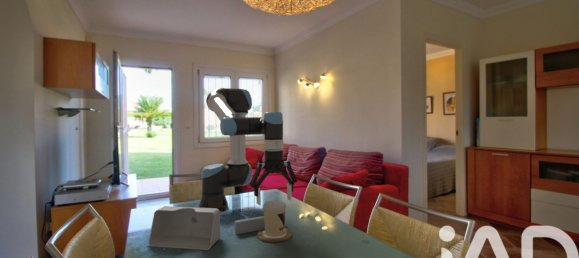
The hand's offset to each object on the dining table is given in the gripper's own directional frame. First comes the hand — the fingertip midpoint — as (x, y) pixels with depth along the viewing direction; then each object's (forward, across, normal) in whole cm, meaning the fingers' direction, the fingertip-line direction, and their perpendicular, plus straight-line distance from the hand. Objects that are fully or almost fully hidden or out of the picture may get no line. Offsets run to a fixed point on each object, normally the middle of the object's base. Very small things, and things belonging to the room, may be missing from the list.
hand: (274, 201), depth 112 cm
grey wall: (+14, -3, +9) cm, 17 cm away
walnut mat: (+14, 0, 0) cm, 14 cm away
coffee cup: (+13, 0, 0) cm, 13 cm away
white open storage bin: (+14, -32, +12) cm, 37 cm away
